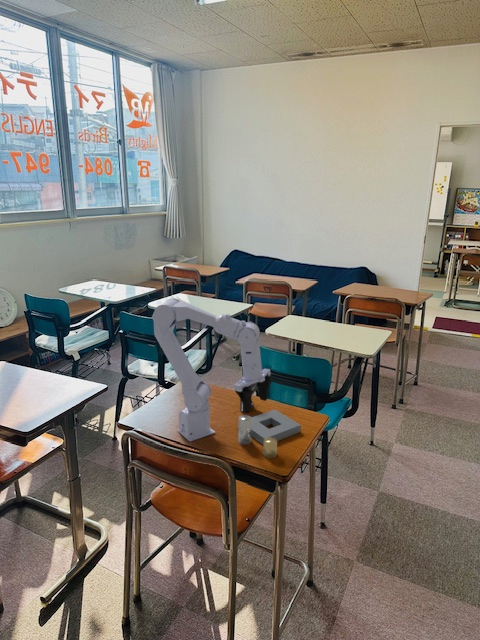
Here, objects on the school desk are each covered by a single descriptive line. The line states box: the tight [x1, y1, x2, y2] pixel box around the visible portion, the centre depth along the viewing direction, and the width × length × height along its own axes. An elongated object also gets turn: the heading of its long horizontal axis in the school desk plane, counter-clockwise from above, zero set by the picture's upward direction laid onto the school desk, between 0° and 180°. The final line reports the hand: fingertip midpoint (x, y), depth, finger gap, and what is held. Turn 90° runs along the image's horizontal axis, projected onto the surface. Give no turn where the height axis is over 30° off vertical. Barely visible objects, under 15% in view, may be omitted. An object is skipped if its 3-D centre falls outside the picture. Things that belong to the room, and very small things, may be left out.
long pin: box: [237, 414, 252, 446], centre depth 136 cm, size 4×4×8 cm
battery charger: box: [239, 383, 257, 413], centre depth 157 cm, size 7×4×11 cm, turn 157°
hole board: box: [250, 409, 302, 445], centre depth 144 cm, size 15×13×2 cm
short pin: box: [262, 437, 278, 459], centre depth 130 cm, size 4×4×4 cm
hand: (255, 404), depth 135 cm, fingers open, 7 cm apart
